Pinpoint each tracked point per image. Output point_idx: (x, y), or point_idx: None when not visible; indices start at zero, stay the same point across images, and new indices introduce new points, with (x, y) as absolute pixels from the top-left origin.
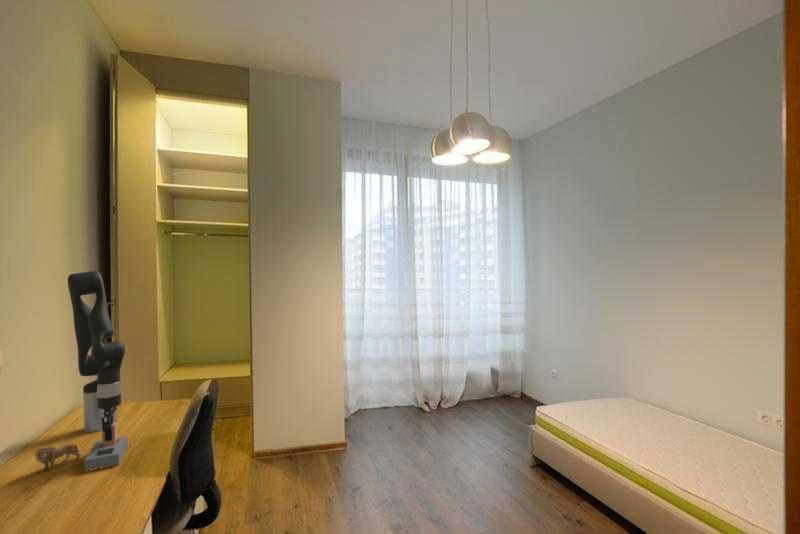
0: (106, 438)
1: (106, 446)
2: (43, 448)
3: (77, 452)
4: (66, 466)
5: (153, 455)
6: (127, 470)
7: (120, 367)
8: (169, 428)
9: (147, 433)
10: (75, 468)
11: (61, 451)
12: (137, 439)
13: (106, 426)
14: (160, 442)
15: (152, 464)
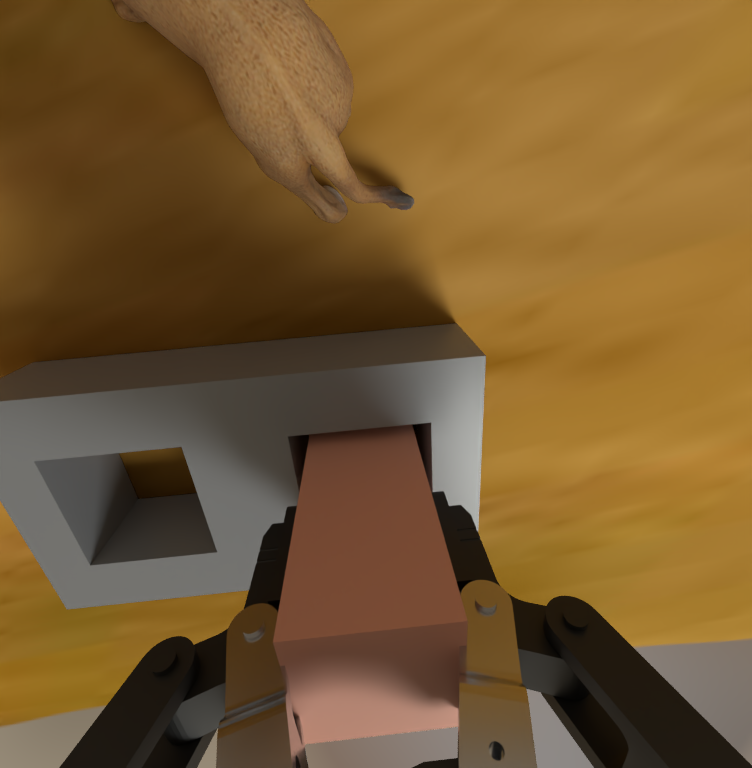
0: (265, 545)
1: (272, 486)
2: None
3: (321, 207)
4: (180, 154)
5: None
6: (27, 595)
7: None
8: (632, 637)
9: (631, 555)
10: (114, 263)
11: (148, 19)
12: (550, 527)
13: (290, 681)
14: None
15: (93, 672)
